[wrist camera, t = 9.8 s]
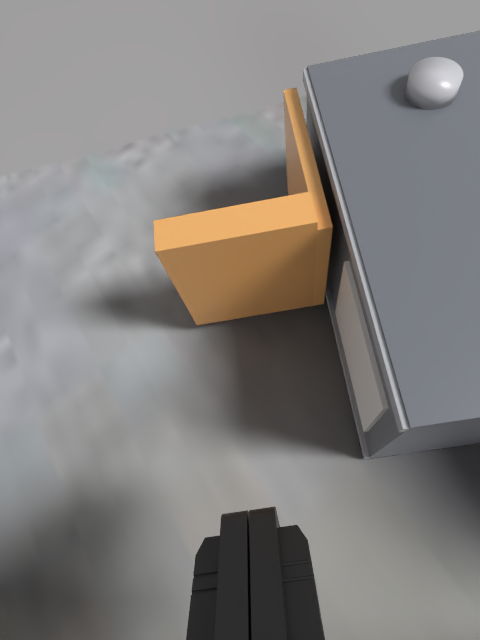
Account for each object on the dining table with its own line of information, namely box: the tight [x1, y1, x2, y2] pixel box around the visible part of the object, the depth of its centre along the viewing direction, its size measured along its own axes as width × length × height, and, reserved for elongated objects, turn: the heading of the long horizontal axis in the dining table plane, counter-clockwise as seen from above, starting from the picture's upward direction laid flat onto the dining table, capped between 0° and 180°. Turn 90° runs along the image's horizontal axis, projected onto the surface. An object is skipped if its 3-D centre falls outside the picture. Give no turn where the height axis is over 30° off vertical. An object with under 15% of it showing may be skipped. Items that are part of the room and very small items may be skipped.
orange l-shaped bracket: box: [154, 88, 333, 325], centre depth 22 cm, size 8×7×8 cm
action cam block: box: [303, 31, 480, 459], centre depth 20 cm, size 17×9×10 cm, turn 7°
